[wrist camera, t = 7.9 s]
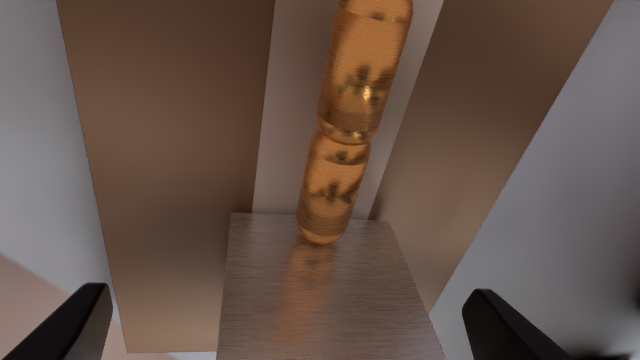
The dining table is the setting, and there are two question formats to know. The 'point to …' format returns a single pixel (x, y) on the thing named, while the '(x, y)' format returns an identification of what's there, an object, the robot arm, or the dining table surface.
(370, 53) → the grey metal piece
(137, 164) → the board
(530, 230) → the dining table surface
